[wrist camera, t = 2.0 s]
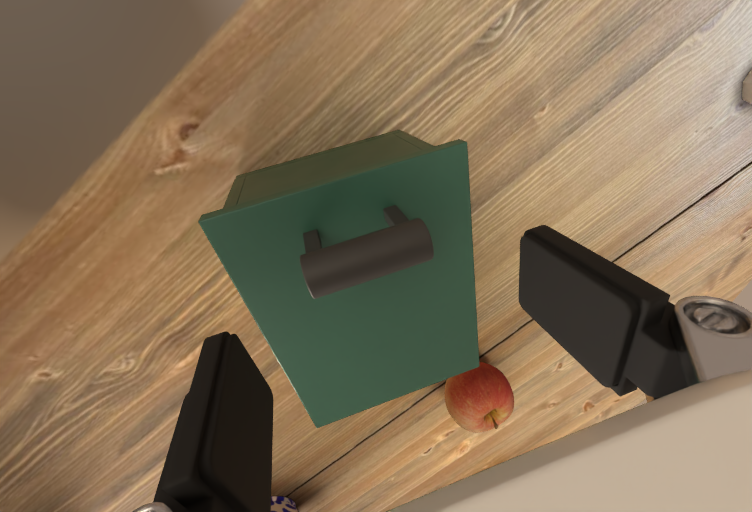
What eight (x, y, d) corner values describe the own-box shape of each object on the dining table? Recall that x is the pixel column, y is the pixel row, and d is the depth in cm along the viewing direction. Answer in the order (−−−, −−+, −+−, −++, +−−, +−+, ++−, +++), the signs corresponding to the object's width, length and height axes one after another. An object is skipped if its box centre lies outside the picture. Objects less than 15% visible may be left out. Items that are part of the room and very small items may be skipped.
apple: (426, 369, 39) (456, 431, 33) (483, 338, 39) (525, 393, 33) (445, 401, 44) (475, 461, 37) (496, 373, 44) (535, 428, 37)
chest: (235, 175, 23) (212, 233, 15) (399, 129, 24) (460, 158, 16) (306, 327, 31) (315, 417, 23) (425, 286, 33) (474, 358, 25)
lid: (201, 214, 14) (169, 273, 10) (459, 138, 16) (525, 163, 12) (315, 418, 23) (323, 495, 19) (474, 358, 25) (514, 417, 20)
